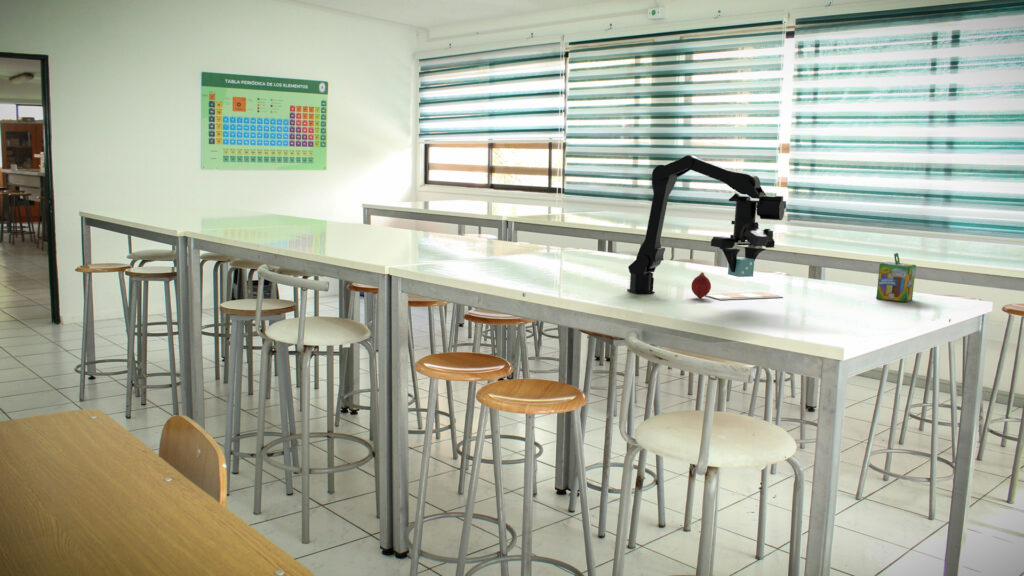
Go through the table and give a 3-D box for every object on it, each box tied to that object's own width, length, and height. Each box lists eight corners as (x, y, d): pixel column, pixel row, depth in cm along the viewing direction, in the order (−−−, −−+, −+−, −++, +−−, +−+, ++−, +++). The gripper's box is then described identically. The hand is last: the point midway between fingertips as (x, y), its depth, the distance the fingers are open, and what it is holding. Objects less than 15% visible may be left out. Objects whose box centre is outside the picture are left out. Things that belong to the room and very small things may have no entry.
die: (739, 276, 226) (740, 259, 226) (727, 274, 231) (729, 257, 230) (753, 276, 228) (754, 259, 228) (741, 274, 233) (743, 257, 232)
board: (720, 300, 238) (720, 299, 238) (702, 295, 246) (702, 294, 246) (782, 297, 247) (782, 296, 247) (763, 293, 256) (763, 291, 256)
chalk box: (906, 303, 247) (911, 256, 245) (875, 299, 253) (880, 253, 250) (913, 299, 254) (918, 254, 252) (882, 296, 260) (888, 251, 257)
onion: (710, 300, 237) (712, 274, 236) (690, 299, 238) (692, 272, 237) (709, 297, 243) (711, 271, 242) (690, 296, 244) (692, 270, 243)
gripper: (737, 220, 216) (732, 276, 219) (790, 220, 223) (785, 275, 226) (711, 217, 226) (707, 271, 229) (763, 217, 233) (759, 269, 236)
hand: (740, 271), depth 229 cm, fingers closed on die, 5 cm apart
